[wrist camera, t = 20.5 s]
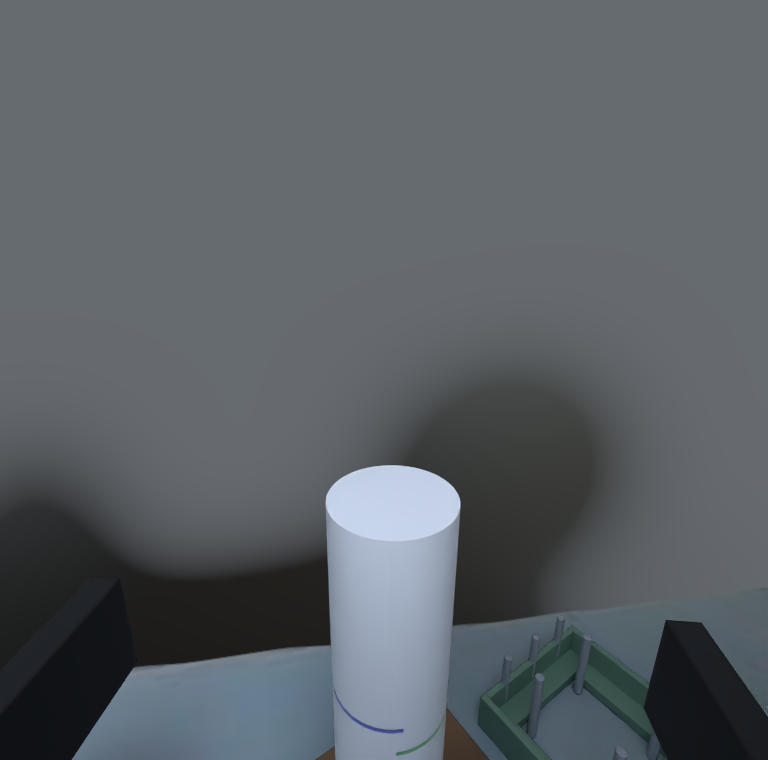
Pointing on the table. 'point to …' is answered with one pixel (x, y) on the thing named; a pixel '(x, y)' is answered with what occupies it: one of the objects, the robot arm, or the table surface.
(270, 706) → the table surface
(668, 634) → the robot arm
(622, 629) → the table surface
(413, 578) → the cylindrical container
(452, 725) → the brown slab
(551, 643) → the drying rack
